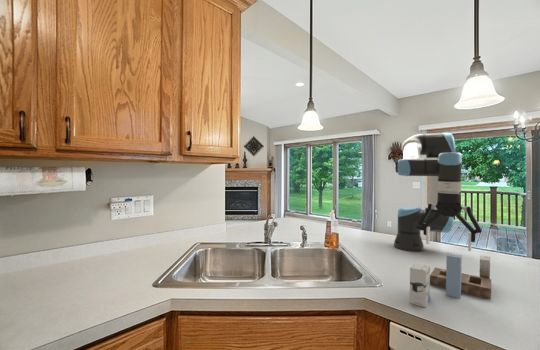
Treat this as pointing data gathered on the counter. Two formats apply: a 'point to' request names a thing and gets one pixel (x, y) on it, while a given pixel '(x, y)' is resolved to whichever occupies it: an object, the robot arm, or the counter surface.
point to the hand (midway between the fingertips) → (447, 246)
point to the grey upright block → (485, 267)
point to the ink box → (420, 284)
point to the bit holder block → (464, 283)
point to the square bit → (453, 275)
